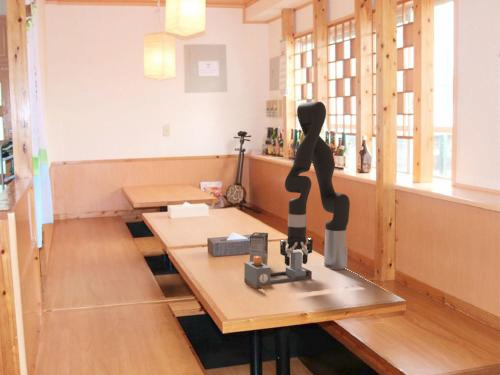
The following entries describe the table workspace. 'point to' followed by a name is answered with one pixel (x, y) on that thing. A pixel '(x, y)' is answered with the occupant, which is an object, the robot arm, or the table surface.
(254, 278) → the cabinet
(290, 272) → the carriage
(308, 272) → the rail bed
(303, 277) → the guide rails
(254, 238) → the coffee box
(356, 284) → the table surface
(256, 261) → the button
